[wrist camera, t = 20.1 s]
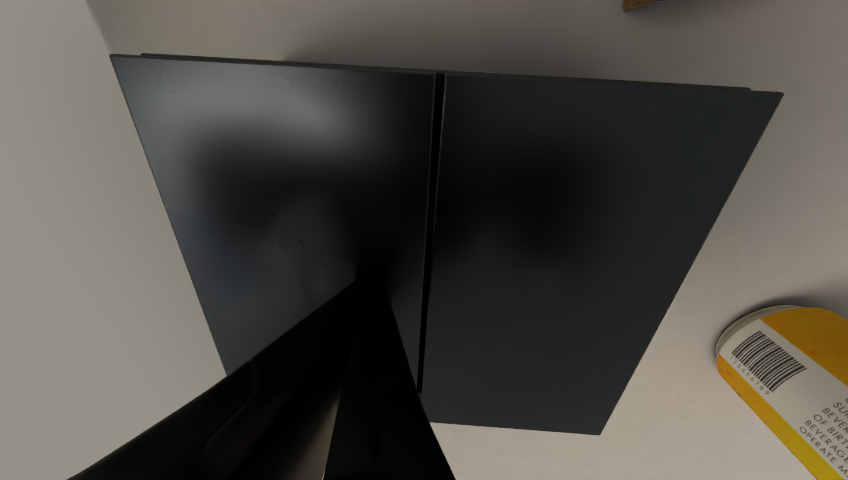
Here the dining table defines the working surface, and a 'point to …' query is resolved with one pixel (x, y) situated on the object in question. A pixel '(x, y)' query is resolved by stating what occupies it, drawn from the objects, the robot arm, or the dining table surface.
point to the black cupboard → (563, 234)
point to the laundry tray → (637, 3)
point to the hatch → (288, 186)
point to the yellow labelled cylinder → (794, 380)
